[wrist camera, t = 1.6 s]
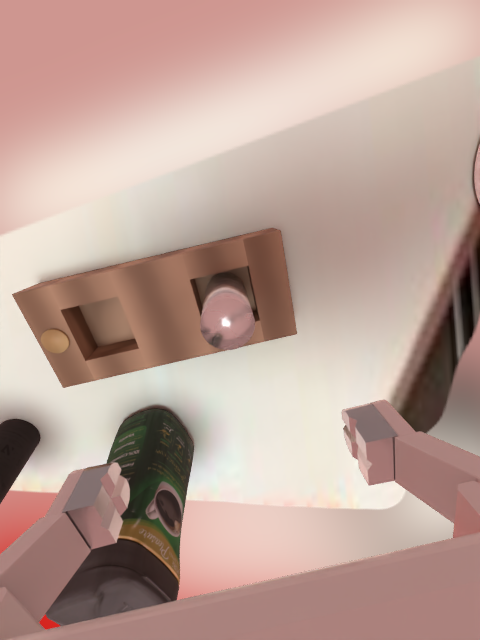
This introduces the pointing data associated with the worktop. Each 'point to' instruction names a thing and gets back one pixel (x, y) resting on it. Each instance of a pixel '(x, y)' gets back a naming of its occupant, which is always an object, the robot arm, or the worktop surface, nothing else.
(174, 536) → the coffee jar
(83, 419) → the worktop surface
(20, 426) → the drinking cup
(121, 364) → the board
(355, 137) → the worktop surface
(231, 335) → the pin
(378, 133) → the worktop surface
